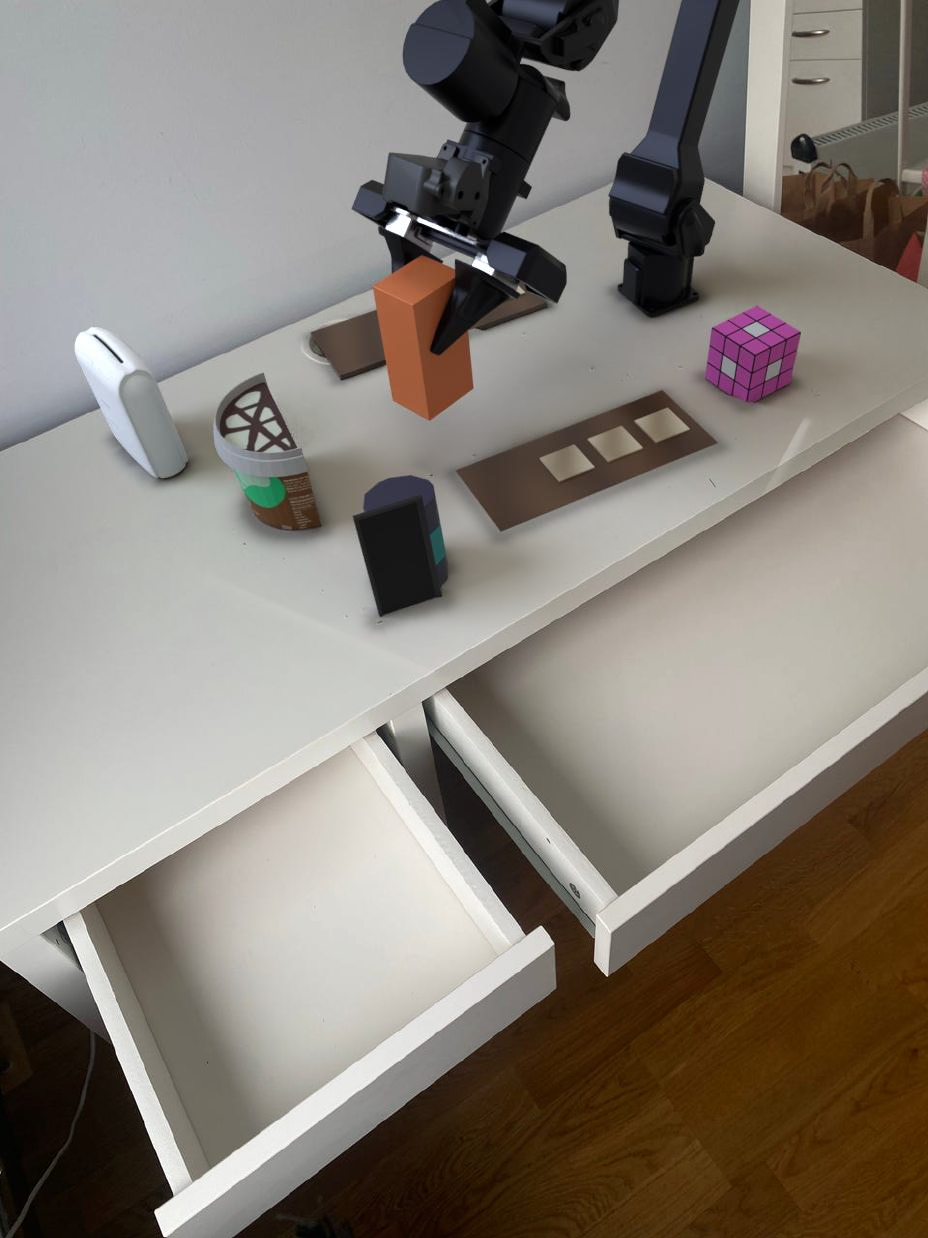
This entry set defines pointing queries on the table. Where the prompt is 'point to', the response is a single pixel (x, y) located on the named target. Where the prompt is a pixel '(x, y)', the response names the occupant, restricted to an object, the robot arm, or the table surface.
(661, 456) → the word board
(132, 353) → the photo printer
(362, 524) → the speaker
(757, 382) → the puzzle toy
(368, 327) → the word board
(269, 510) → the food container
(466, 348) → the tall orange brick
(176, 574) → the table surface
